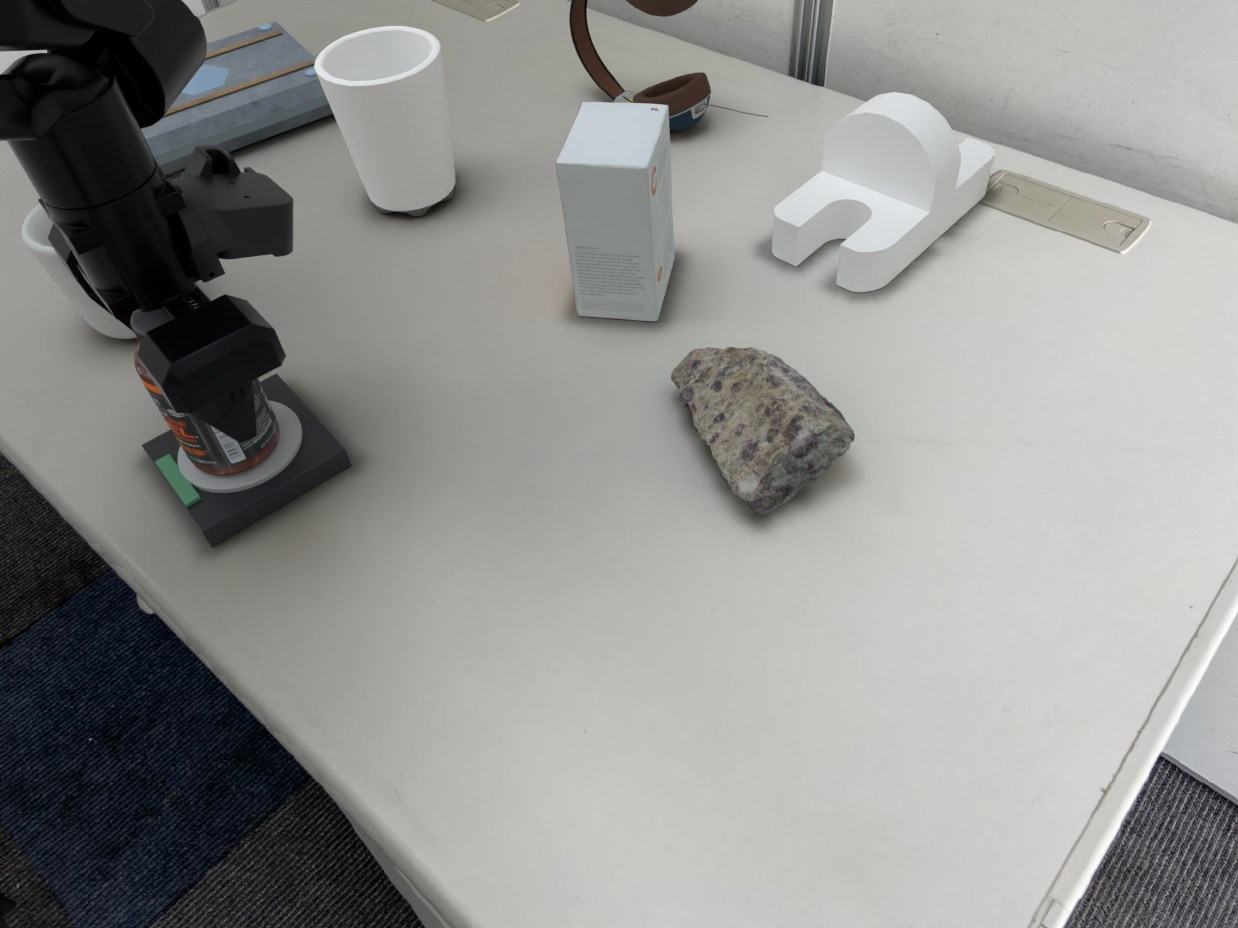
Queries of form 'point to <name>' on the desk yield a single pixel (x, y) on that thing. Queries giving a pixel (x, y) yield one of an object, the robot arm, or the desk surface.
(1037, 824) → the desk surface
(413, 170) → the cup
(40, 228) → the cup
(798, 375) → the rock
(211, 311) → the robot arm
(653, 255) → the small box
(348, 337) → the desk surface
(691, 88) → the headphones
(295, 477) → the scale
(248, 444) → the supplement bottle
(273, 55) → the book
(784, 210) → the slotted bracket
